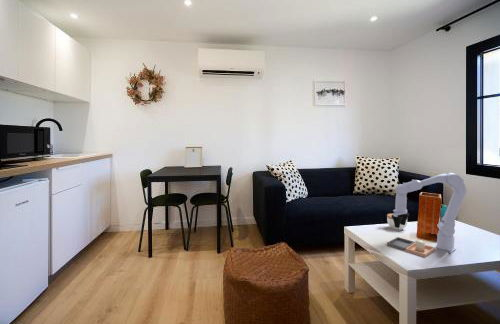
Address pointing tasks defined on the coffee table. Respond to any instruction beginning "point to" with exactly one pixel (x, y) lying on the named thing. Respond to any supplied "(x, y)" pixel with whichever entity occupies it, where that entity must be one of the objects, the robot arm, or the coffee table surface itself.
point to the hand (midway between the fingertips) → (399, 226)
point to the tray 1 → (400, 243)
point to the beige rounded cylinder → (420, 246)
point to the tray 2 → (427, 251)
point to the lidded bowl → (391, 223)
